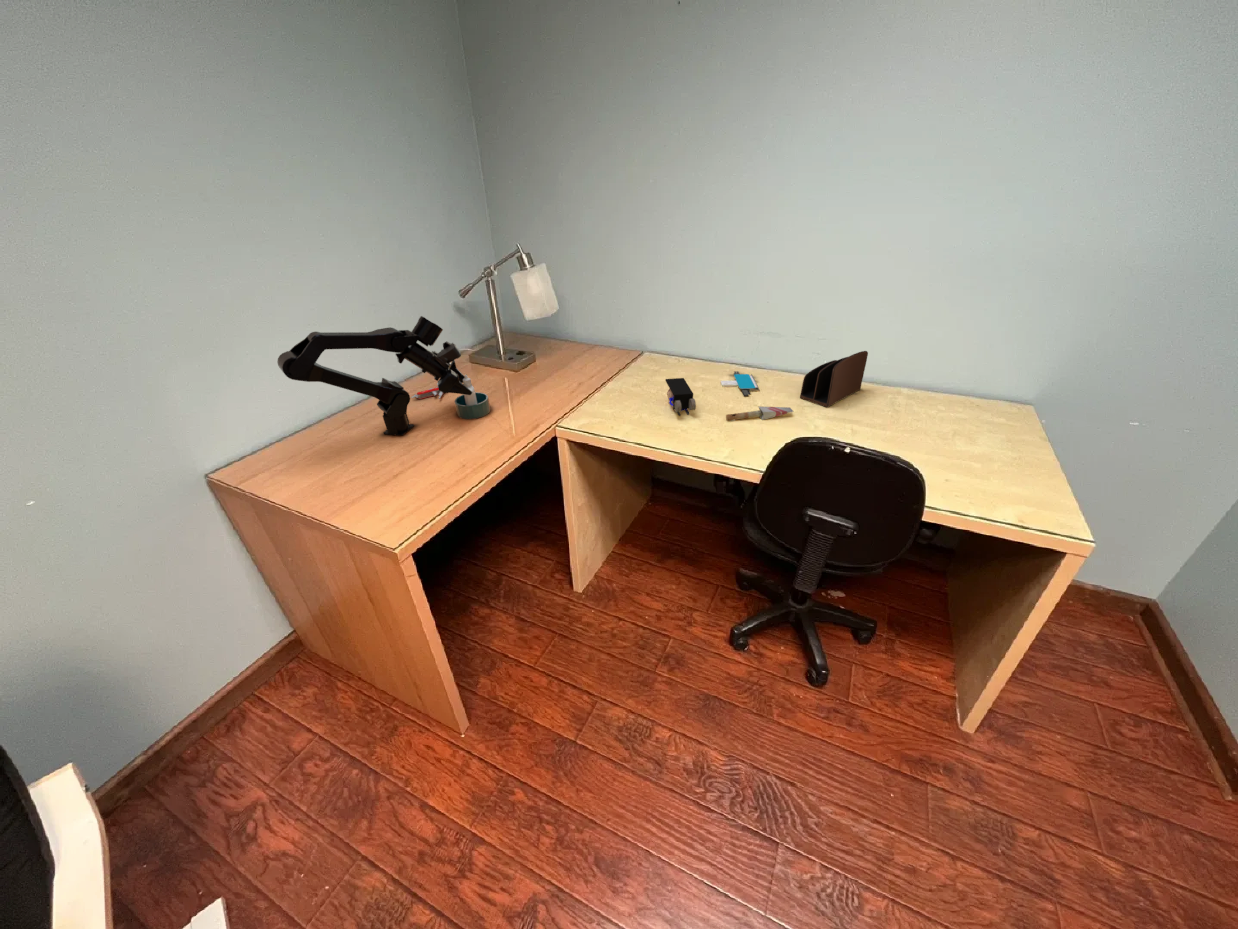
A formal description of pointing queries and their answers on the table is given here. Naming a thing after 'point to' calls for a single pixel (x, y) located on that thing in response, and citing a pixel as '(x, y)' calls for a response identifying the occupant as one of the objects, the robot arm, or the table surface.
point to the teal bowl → (472, 407)
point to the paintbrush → (761, 413)
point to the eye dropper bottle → (471, 398)
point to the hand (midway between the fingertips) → (469, 388)
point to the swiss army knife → (428, 393)
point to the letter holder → (834, 380)
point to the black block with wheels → (680, 395)
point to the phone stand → (742, 383)
